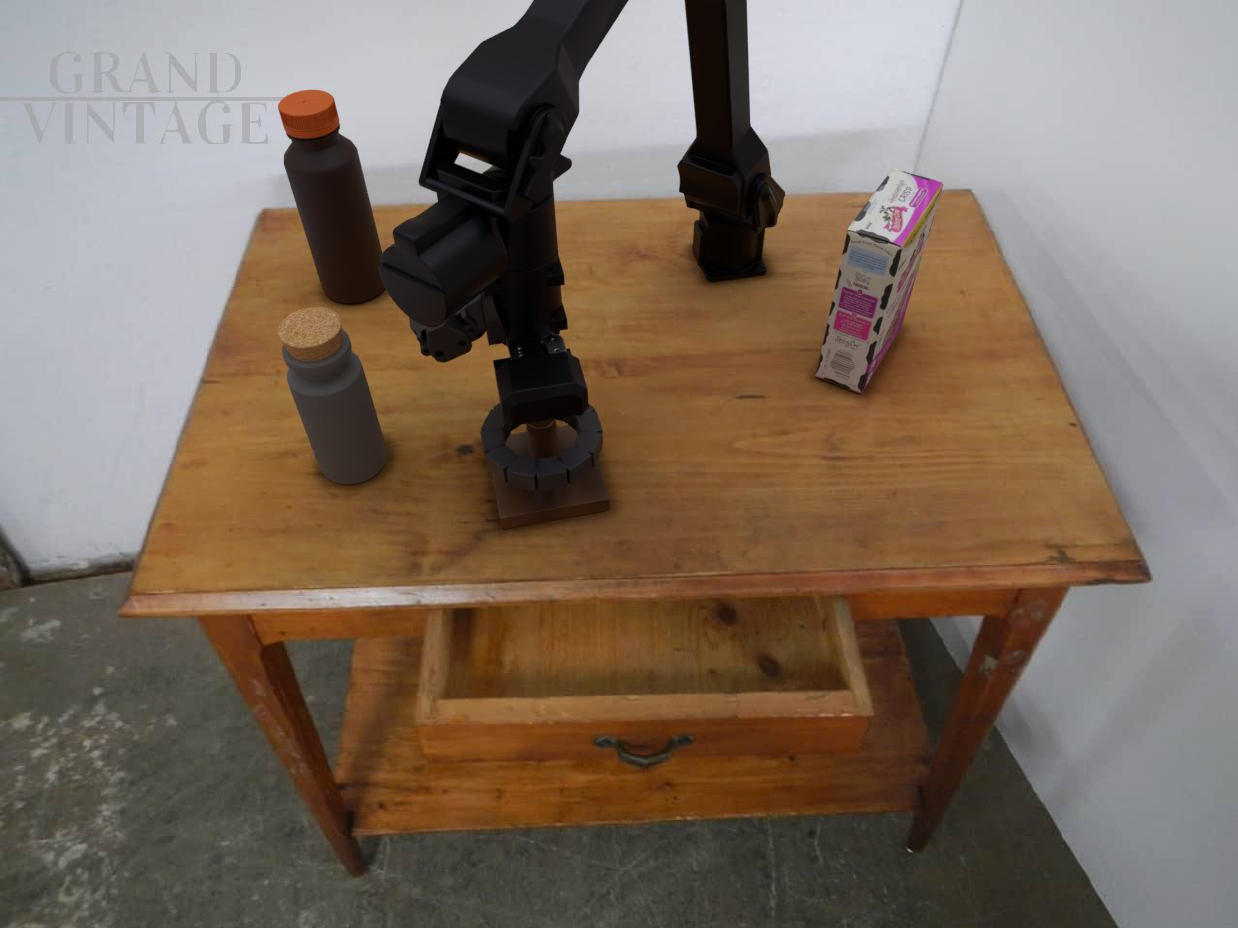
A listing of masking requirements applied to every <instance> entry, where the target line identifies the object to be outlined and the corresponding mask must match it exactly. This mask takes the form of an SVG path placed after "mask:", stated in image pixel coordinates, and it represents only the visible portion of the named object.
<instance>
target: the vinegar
mask: <svg viewBox="0 0 1238 928" xmlns="http://www.w3.org/2000/svg"><path fill="white" fill-rule="evenodd" d="M277 110H278V113H279V116H280V119H281V123H282V127H283V130H284V131H285V135H286V136H287V138H288V139H289V140H290V141H291V143H290V144H289V146H288V147H287V149H286V150H285V152H284V154H283V167H284V170H285V173H286V176H287V179H288V182H289V185H290V189H291V192H292V195H293V198H294V202H295V205H296V208H297V211H298V214H299V218H300V221H301V225H302V227H303V230H304V234H305V237H306V241H307V244H308V247H309V250H310V253H311V256H312V260H313V263H314V266H315V269H316V273H317V276H318V279H319V283H320V285H321V289H322V291H323V292H324V294H325V295H326V297H328V298H329V299H331V300H332V301H335V302H338V303H342V304H358V303H363V302H366V301H369V300H372V299H373V298H375V297H377V296H378V295H380V294H381V293H382V292H383V291H384V290H385V289H386V288H385V286H384V285H383V282H382V279H381V277H380V273H379V268H378V267H379V266H380V263H381V256H382V253H383V250H382V245H381V241H380V237H379V233H378V229H377V225H376V220H375V216H374V213H373V208H372V205H371V201H370V200H371V199H370V196H369V191H368V187H367V184H366V180H365V175H364V172H363V171H364V170H363V166H362V163H361V159H360V154H359V150H358V148H357V146H356V145H355V143H354V142H353V141H352V140H351V139H350V138H348V137H346V136H345V135H343V134H341V133H340V130H341V123H340V116H339V113H338V109H337V105H336V101H335V98H334V95H332V94H331V93H330V92H327V91H325V90H321V89H303V90H298V91H295V92H292V93H290V94H287V95H286V96H284V97H282V99H281V100H280V101H279V102H278V105H277Z"/></svg>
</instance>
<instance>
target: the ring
mask: <svg viewBox="0 0 1238 928" xmlns="http://www.w3.org/2000/svg"><path fill="white" fill-rule="evenodd" d="M588 405H589V408H588V409H587V410H586V411H585V412H584V413H583V414H582V415H576V416H570V417H564V418H558V419H556V421H560V422H564V423H565V424H566V425H569V426H570V427H572V428H573V429H574V430H575V431H577V434H578V437H577V439H576V441H575V444H574V445H573V446H572V447H570V448H569V449H567V450H566V451H564V452H563V453H562V454H560V455H559V456H555V457H549V458H544V459H538V460H537V459H532V458H528V457H523V456H519V455H517V454H516V453H515V452H514V451H513V450H512V449H510V448H509V447H508V446H507V445H506V444H505V443H506V441H507V439H508V437H509V435H511V434H512V432H513V431H514V430H516V429H517V428H519V427H520V426H521V425H516V426H512V425H509V424H507V423H505V422H504V420H503V415H502V410H501V405H500V402H499V403H497V404H495V405H494V406H493V407H492V409H490V410H489V412H488V414H487V416H486V417H485V419H484V421H483V422H482V425H481V426H480V431H479V434H480V439H481V445H482V450H483V456H484V462H485V466H487V469H488V470H489V471H490V472H491V473H492V472H493V473H494V474H495V475H496V476H497V477H498V478H499V479H501V480H502V481H503V482H504V483H505V484H506V483H508V485H510V486H514V487H518V488H523V489H527V490H531V491H536V489H537V487H538V489H539V492H540V491H546V490H551V489H556V488H562V487H567V486H568V483H569V484H570V485H572V484H573V483H575V482H576V481H577V480H579V479H580V478H582V477H583V476H585V475H586V474H587V473H589V472H590V471H592V467H595V465H596V462H597V460H598V459H599V458H600V456H601V452H602V451H603V448H604V447H603V445H604V437H603V436H604V435H603V434H604V433H603V428H602V424H601V421H600V418H599V415H598V411H597V410H596V408H595V407H593V406H592V405H591V404H590V403H588ZM567 482H568V483H567Z"/></svg>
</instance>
